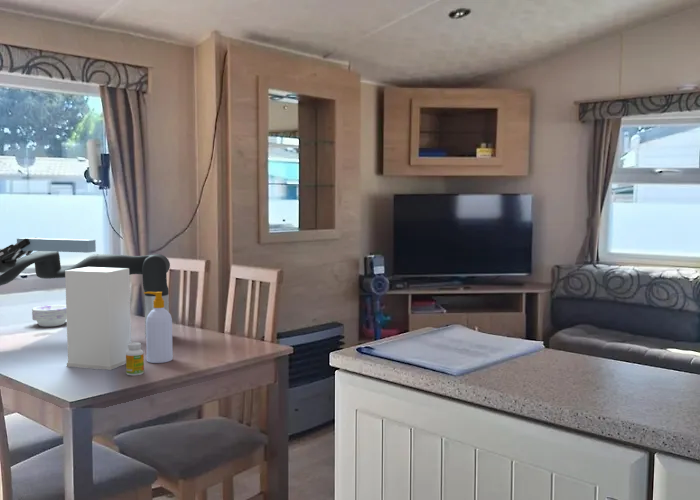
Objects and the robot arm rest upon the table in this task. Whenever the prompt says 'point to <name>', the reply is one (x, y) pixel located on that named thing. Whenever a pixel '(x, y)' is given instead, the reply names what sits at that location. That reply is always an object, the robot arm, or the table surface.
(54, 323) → the paper bowls
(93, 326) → the storage box
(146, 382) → the table surface
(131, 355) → the supplement bottle
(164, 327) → the soap bottle
